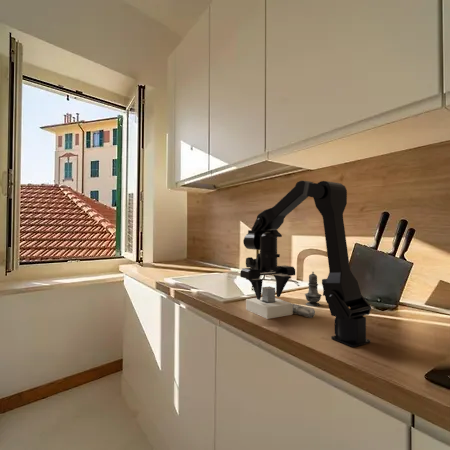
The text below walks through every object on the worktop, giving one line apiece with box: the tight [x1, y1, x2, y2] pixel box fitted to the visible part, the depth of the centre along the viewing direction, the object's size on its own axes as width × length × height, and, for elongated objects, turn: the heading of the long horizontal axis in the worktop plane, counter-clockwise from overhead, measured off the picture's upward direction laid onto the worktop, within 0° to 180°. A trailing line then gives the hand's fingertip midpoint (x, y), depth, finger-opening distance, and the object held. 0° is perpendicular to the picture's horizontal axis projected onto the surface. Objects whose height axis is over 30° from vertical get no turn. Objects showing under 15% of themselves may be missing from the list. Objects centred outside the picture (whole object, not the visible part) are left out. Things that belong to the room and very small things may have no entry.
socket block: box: [245, 296, 294, 320], centre depth 97 cm, size 12×10×4 cm
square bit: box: [261, 286, 276, 303], centre depth 97 cm, size 3×3×8 cm
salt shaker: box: [304, 271, 323, 308], centre depth 107 cm, size 6×6×12 cm
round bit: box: [293, 303, 316, 318], centre depth 94 cm, size 8×3×3 cm
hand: (268, 298), depth 97 cm, fingers open, 8 cm apart
